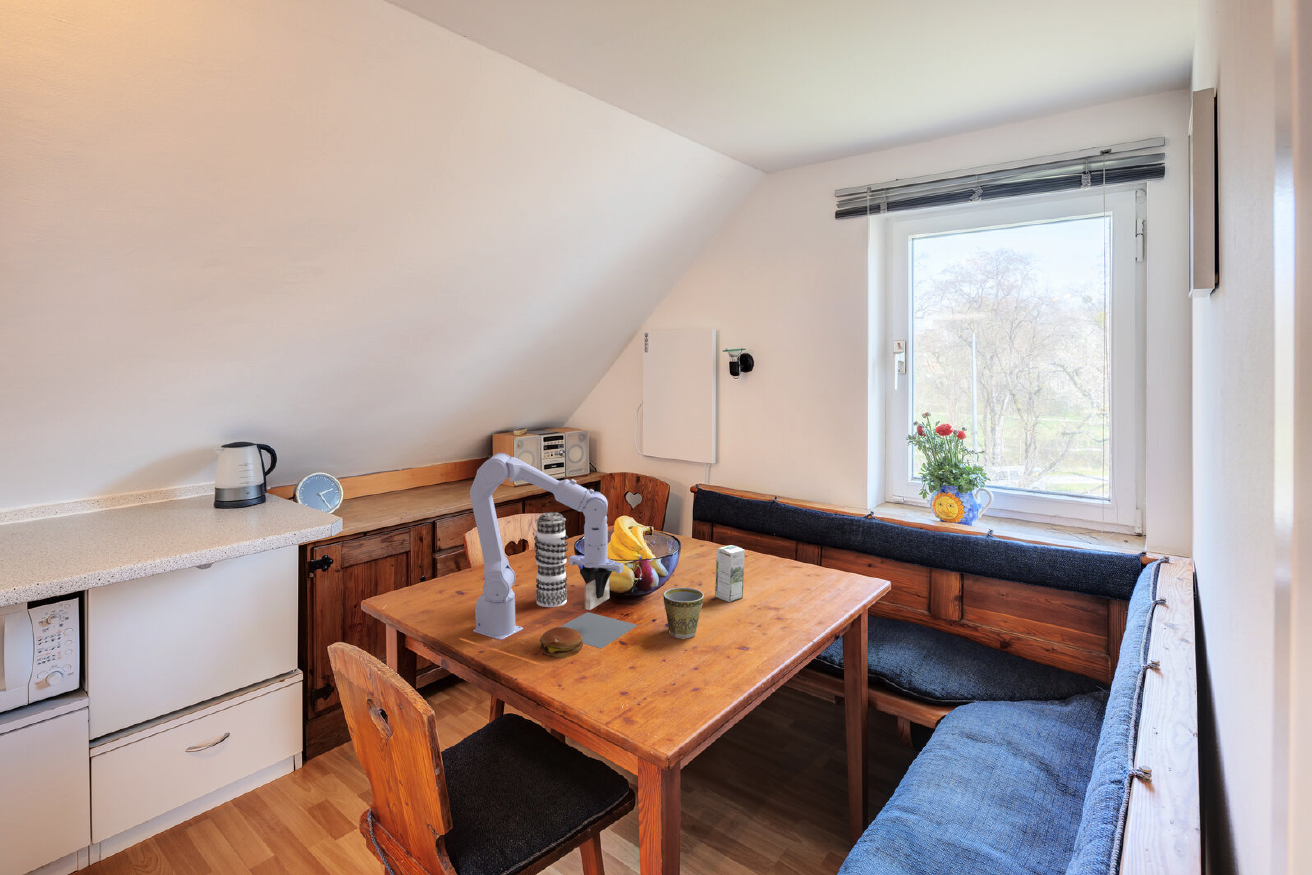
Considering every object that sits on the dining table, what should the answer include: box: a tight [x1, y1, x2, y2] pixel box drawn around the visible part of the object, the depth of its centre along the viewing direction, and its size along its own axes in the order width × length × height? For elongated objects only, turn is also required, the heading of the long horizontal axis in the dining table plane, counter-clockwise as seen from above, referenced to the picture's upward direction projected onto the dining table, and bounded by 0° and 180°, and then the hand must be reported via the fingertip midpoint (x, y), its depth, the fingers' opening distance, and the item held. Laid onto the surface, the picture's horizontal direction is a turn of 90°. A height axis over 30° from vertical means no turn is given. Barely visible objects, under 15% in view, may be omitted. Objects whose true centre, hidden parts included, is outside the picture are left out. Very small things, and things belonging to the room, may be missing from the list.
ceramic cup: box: [662, 587, 705, 640], centre depth 166 cm, size 13×10×10 cm
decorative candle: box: [533, 511, 569, 608], centre depth 183 cm, size 9×9×25 cm
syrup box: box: [714, 544, 746, 603], centre depth 189 cm, size 6×6×14 cm
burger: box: [539, 626, 584, 659], centre depth 155 cm, size 10×9×5 cm
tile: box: [583, 577, 610, 611], centre depth 165 cm, size 9×2×6 cm, turn 153°
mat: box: [560, 611, 639, 649], centre depth 167 cm, size 16×16×1 cm
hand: (596, 596), depth 165 cm, fingers closed on tile, 2 cm apart
